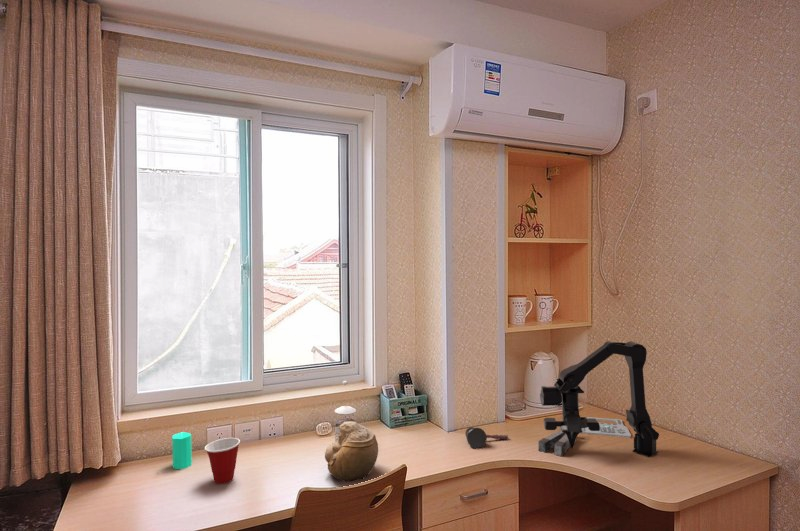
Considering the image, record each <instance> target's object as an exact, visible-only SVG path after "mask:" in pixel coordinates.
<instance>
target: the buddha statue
mask: <svg viewBox="0 0 800 531" xmlns="http://www.w3.org/2000/svg"><path fill="white" fill-rule="evenodd" d="M338 428H340V431H339V432H338V433H337V435H338V437H337V438H338V439H337V438H336V439H337V441H336V442H335V441H334V442H332V443H331V444H330V445H329V446H327V447H326V448H325V451H324V459H325V461H326V463H327V470H328V472H329V474H331V475H332V477H333V478H335V479H336V480H338V481H343V482H347V483H348V482H351V483H352V482H356V481H361V480H364V479H365V478H367V477H368V476H369V474H370V473H371V472H372V471H373V469H374V467H375V465H376V462H377V459H378V455H379V444H378V440H377V436H376V434H375V432H374V431H373V430H372V429H370V428H367V427H366V426H365V425H362V424H360V423H358V422H357V421H355V422H353V421H352V422H351V421H348V422H347V421H346V422H344V423H342V424H341V425H340V426H338Z"/></svg>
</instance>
